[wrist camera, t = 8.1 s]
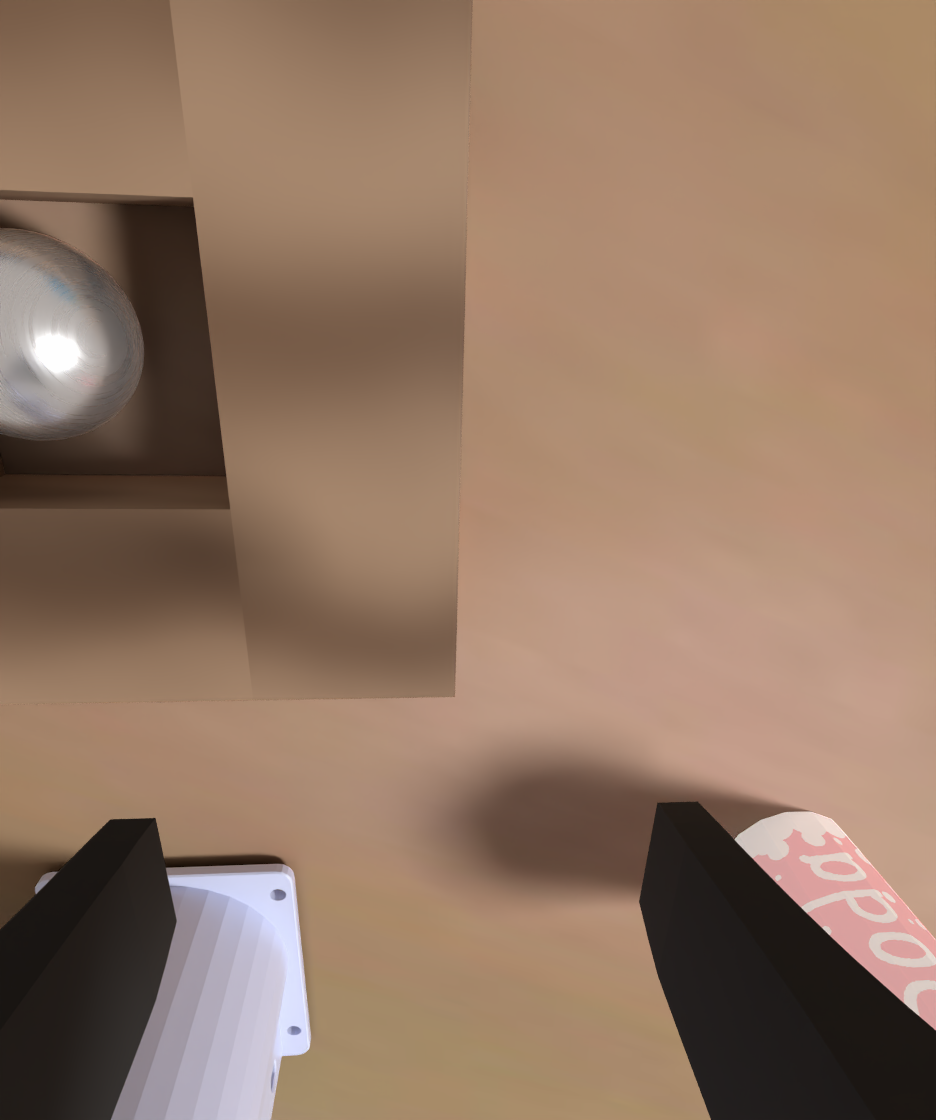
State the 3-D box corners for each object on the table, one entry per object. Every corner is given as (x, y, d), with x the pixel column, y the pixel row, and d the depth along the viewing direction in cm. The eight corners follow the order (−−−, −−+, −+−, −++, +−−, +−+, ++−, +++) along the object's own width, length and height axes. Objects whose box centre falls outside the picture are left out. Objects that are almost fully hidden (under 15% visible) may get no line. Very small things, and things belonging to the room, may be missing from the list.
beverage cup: (899, 806, 23) (1493, 1474, 10) (821, 928, 25) (1229, 1597, 13) (738, 781, 22) (1177, 1485, 9) (673, 911, 24) (954, 1616, 12)
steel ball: (112, 488, 13) (-5, 473, 15) (216, 349, 15) (101, 350, 17) (-81, 319, 10) (-198, 327, 12) (80, 169, 12) (-44, 195, 14)
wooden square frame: (450, 645, 19) (454, 697, 17) (-144, 652, 18) (-226, 708, 16) (465, -77, 13) (476, -150, 11) (-456, -142, 12) (-668, -241, 9)
